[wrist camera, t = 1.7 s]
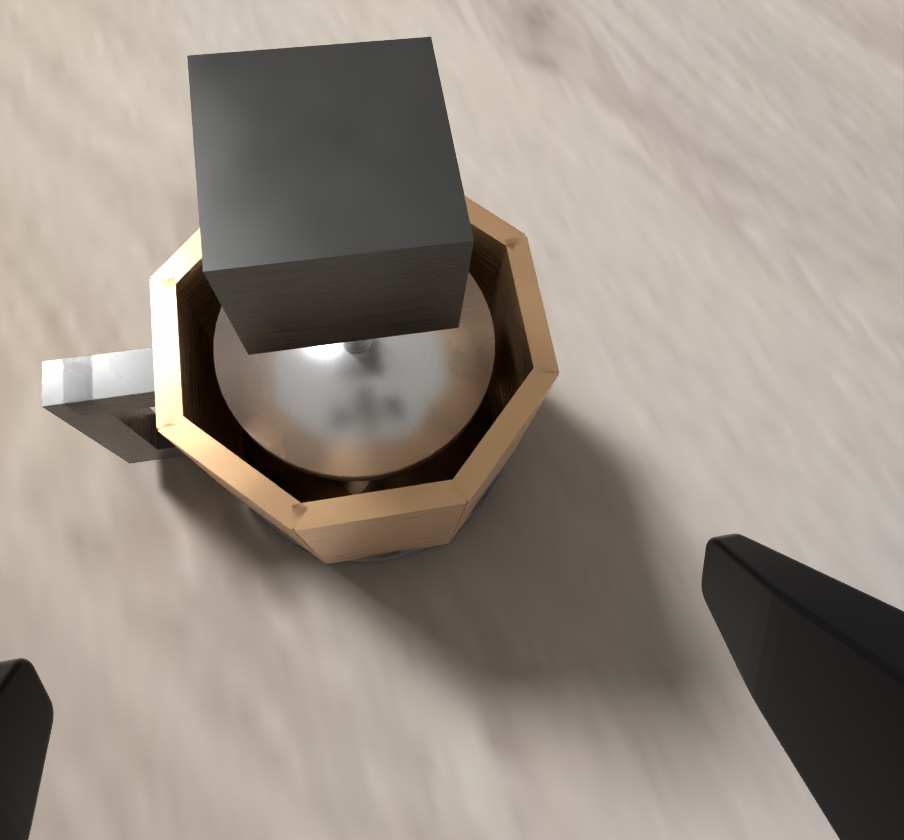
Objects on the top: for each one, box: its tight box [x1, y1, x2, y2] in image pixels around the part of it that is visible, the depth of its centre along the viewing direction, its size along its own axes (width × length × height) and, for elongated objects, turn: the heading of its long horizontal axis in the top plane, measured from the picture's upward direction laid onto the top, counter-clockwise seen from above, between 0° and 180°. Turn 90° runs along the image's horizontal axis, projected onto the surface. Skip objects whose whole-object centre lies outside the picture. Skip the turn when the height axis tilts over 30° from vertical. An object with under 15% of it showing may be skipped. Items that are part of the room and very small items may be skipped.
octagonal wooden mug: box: [42, 196, 559, 564], centre depth 20 cm, size 10×13×8 cm
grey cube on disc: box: [188, 37, 495, 481], centre depth 14 cm, size 7×7×8 cm
